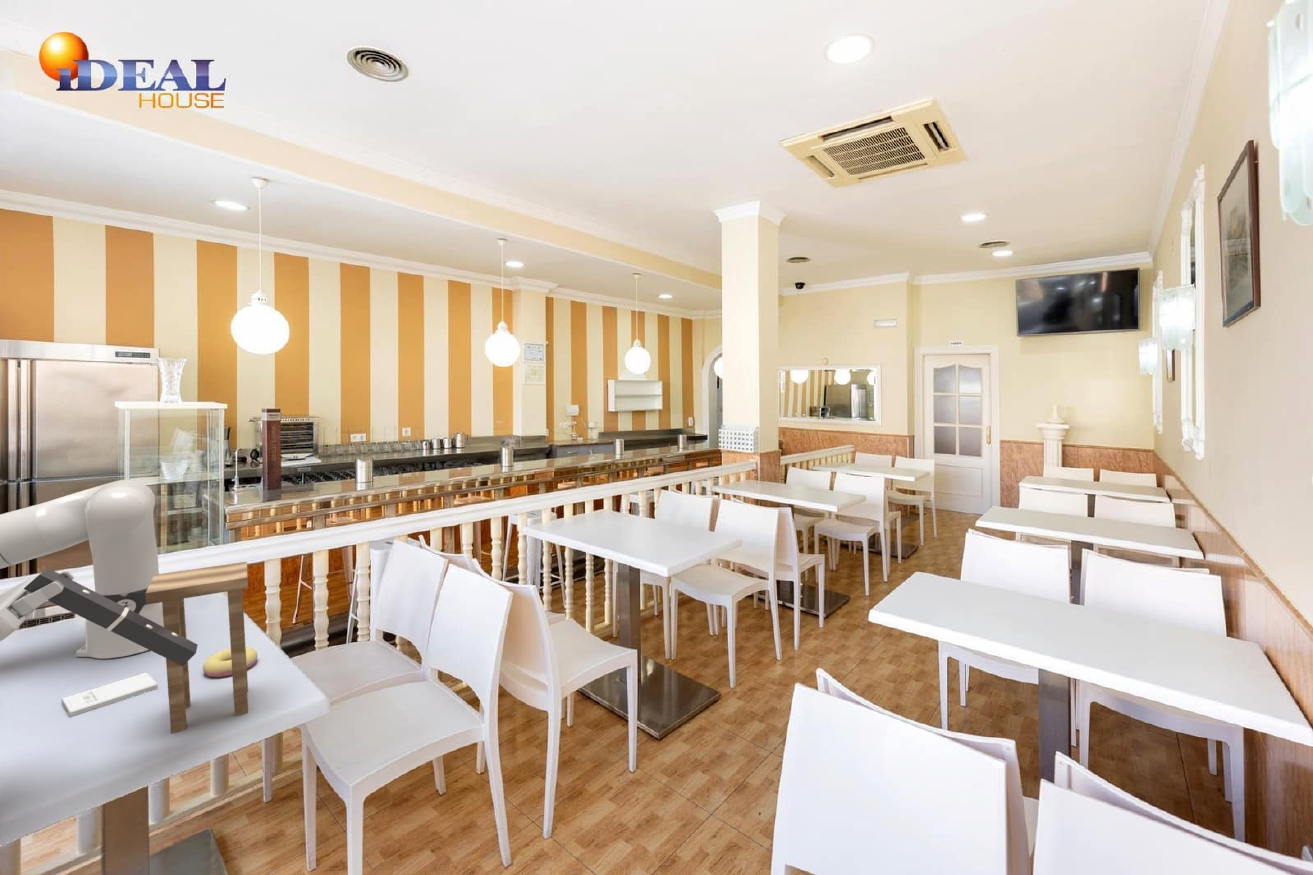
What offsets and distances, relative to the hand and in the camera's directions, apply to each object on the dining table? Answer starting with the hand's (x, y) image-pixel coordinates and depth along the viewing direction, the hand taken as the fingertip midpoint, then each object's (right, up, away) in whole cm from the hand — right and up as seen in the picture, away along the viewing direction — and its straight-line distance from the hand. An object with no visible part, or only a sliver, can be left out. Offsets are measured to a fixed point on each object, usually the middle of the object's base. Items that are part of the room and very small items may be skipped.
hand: (65, 579), depth 86 cm
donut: (-3, -29, +37) cm, 47 cm away
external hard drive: (-18, -30, +25) cm, 43 cm away
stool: (+6, -30, +20) cm, 37 cm away
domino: (+4, -8, +3) cm, 10 cm away
